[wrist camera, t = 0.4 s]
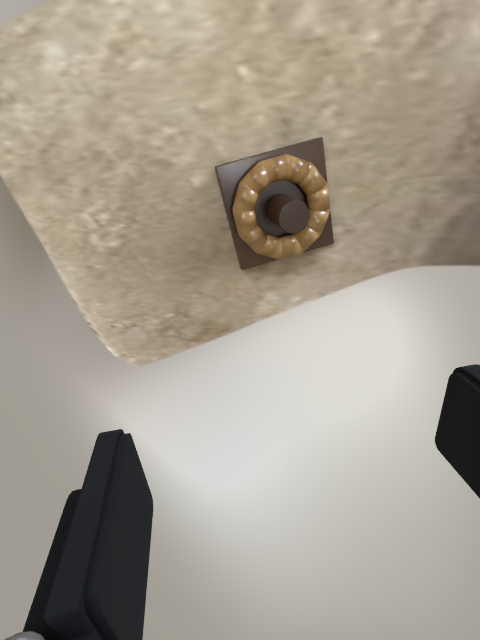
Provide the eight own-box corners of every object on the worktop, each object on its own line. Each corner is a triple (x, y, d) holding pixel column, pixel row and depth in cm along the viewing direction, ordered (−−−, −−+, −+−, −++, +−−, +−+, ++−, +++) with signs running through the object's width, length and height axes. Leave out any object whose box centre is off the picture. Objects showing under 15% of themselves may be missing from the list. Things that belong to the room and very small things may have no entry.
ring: (221, 170, 27) (224, 172, 26) (318, 143, 27) (326, 143, 26) (244, 264, 31) (248, 271, 29) (329, 240, 31) (337, 245, 30)
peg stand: (214, 166, 28) (221, 169, 23) (318, 137, 28) (346, 135, 23) (240, 267, 32) (250, 287, 27) (330, 241, 32) (355, 257, 27)
